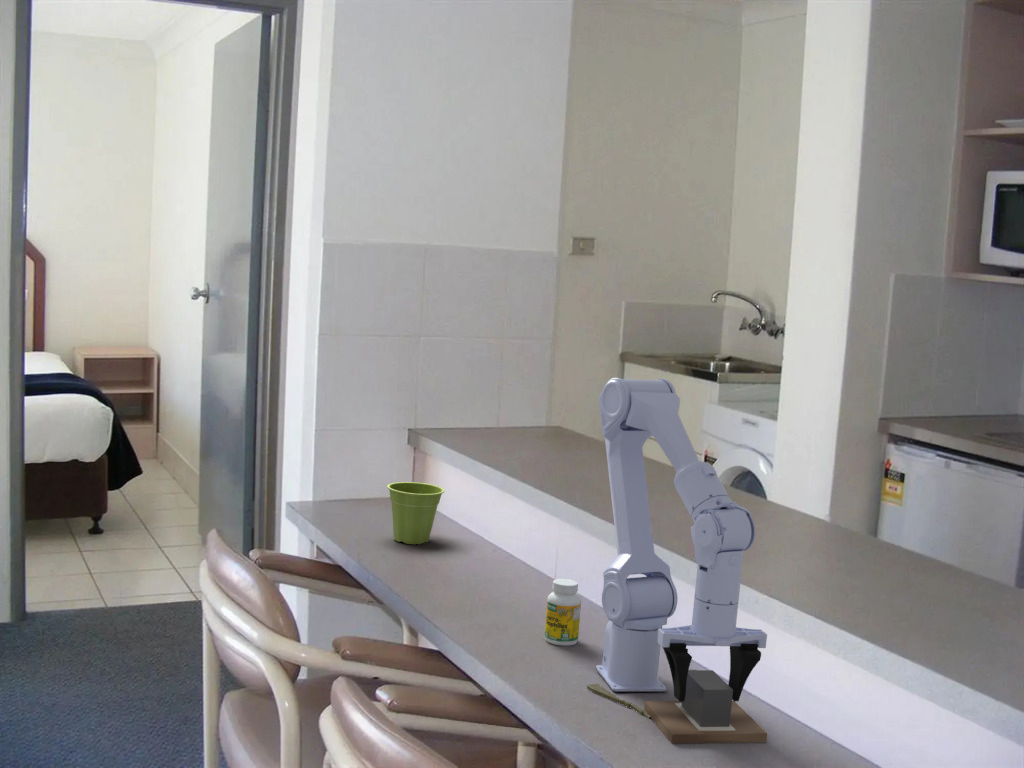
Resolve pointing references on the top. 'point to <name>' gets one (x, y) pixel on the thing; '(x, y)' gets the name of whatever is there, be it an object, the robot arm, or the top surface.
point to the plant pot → (413, 510)
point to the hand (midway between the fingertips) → (706, 698)
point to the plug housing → (708, 699)
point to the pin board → (686, 730)
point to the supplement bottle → (563, 613)
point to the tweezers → (614, 698)
